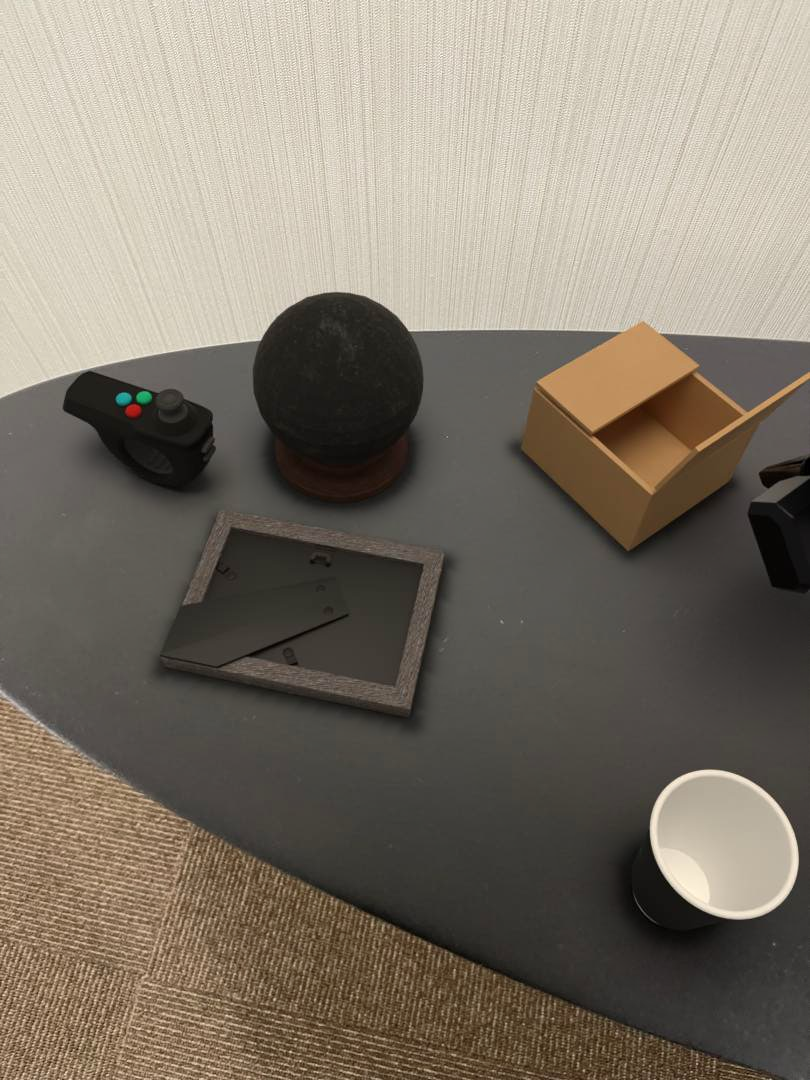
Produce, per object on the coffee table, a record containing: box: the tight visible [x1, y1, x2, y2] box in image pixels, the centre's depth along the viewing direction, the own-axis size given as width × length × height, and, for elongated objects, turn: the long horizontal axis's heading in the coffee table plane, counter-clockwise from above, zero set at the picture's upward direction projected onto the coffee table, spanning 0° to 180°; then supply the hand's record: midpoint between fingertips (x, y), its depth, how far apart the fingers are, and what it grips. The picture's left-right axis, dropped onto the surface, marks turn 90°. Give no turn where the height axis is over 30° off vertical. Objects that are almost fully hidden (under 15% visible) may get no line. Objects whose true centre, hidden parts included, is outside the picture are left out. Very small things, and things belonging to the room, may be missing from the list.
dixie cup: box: [630, 769, 800, 932], centre depth 53 cm, size 8×8×11 cm
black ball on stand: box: [252, 291, 424, 504], centre depth 71 cm, size 13×13×15 cm
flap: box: [654, 371, 810, 491], centre depth 65 cm, size 6×12×1 cm
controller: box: [62, 370, 217, 487], centre depth 71 cm, size 4×12×10 cm, turn 67°
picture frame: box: [159, 508, 446, 719], centre depth 67 cm, size 13×2×18 cm
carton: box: [520, 320, 761, 552], centre depth 74 cm, size 13×12×8 cm
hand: (763, 476), depth 64 cm, fingers closed
